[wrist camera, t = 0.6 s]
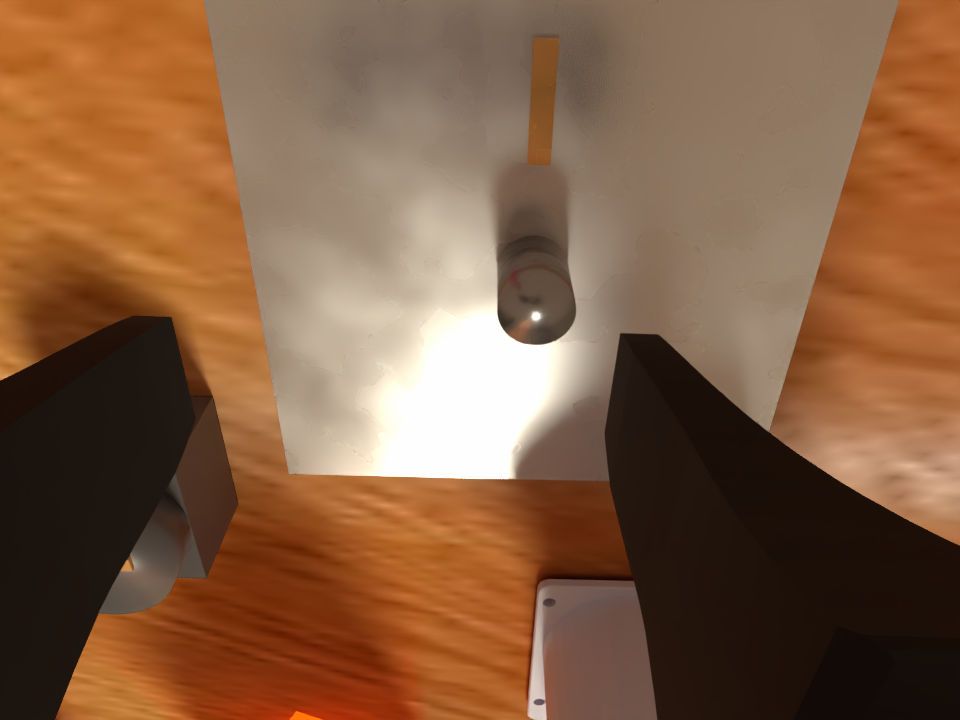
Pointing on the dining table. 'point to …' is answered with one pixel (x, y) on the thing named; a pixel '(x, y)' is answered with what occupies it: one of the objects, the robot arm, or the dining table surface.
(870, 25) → the flat square panel
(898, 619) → the robot arm
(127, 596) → the knob
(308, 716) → the orange juice
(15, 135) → the dining table surface
